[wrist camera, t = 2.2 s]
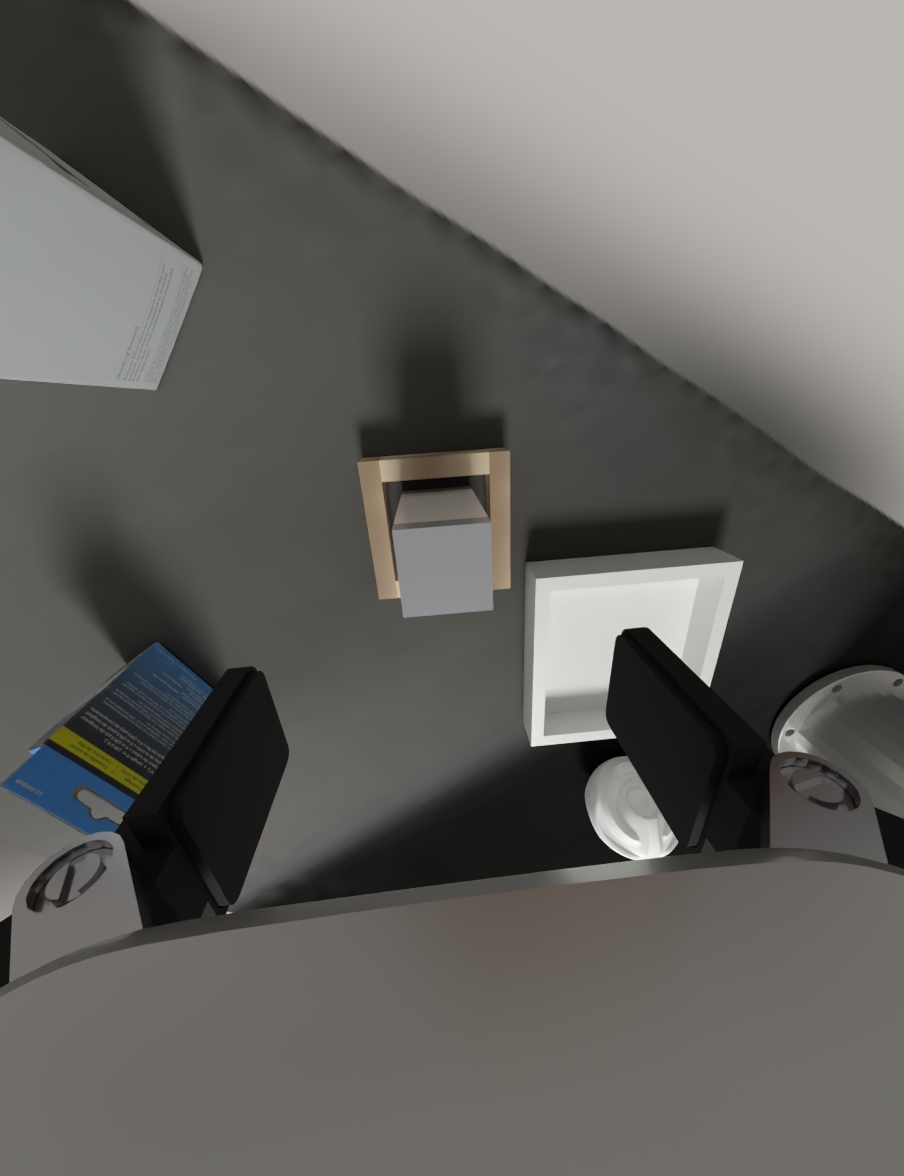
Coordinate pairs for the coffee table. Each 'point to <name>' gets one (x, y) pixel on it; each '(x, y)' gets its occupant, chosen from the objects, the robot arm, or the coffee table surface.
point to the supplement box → (82, 277)
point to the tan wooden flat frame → (427, 467)
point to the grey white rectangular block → (443, 552)
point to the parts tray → (614, 628)
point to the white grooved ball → (626, 812)
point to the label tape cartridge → (111, 741)
